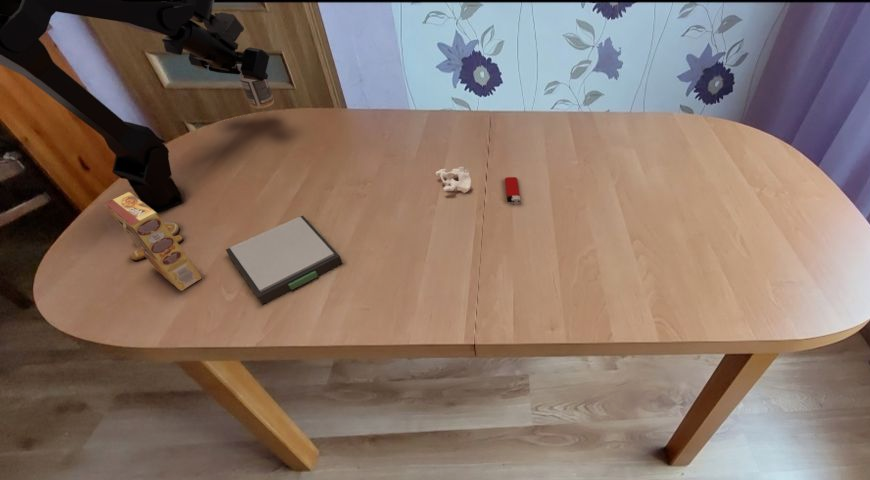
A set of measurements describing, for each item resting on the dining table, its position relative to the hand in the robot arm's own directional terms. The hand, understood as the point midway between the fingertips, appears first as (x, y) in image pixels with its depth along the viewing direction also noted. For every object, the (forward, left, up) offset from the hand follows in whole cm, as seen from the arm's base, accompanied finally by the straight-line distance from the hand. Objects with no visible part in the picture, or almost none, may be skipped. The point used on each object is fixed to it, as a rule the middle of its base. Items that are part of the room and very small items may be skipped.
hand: (256, 75), depth 111 cm
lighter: (+27, -62, -12) cm, 68 cm away
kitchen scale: (-19, -50, -12) cm, 55 cm away
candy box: (-35, -41, -12) cm, 55 cm away
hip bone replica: (+19, -52, -12) cm, 56 cm away
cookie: (-35, -30, -12) cm, 48 cm away
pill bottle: (-1, -1, -7) cm, 7 cm away
